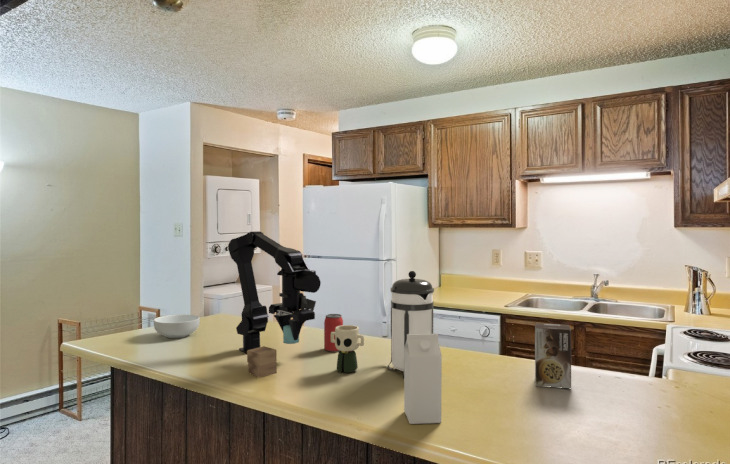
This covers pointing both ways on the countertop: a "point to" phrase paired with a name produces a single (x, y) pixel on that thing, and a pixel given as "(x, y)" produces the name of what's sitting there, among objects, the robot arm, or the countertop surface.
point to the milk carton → (422, 378)
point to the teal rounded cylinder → (288, 335)
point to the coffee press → (409, 314)
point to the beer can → (331, 330)
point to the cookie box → (552, 355)
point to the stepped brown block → (261, 356)
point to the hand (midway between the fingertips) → (291, 338)
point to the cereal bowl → (176, 325)
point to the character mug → (347, 346)
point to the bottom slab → (262, 369)
